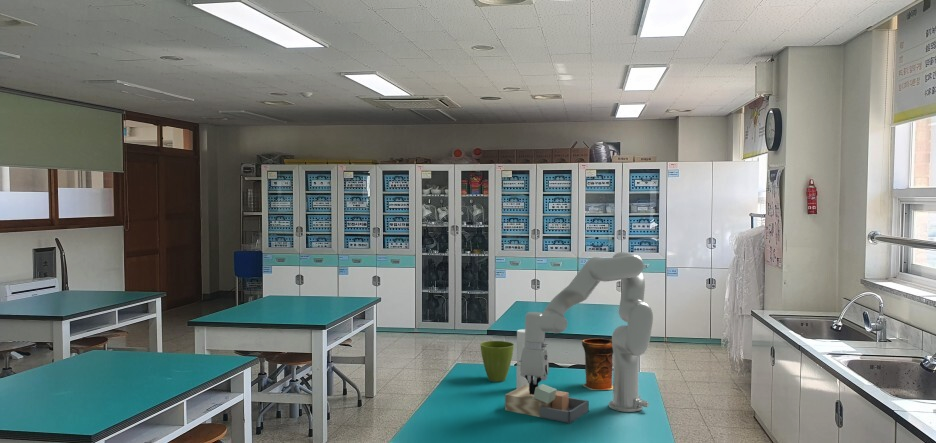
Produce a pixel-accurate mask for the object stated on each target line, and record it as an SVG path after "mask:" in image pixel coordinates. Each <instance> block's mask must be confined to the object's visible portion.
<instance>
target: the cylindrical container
mask: <svg viewBox="0 0 936 443" xmlns="http://www.w3.org/2000/svg"><path fill="white" fill-rule="evenodd" d="M524 347H525V328H524V329H522V328H521V329H518V330H516V389H518V388H520V387H522V386H524V385H528V386H529V383H528V381H527V379H526V378H525V377H522V376H521V371H520V365H521V356H522V351H523V348H524Z"/></svg>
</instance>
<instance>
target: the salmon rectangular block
mask: <svg viewBox="0 0 936 443" xmlns="http://www.w3.org/2000/svg"><path fill="white" fill-rule="evenodd" d="M557 391H558V392H556V395H555V399H554V400H553V401H552V408H553V409H558V410H563V411H565V410H566V409H568V408H569V394H570V393H569V392H566V391H561V390H557Z"/></svg>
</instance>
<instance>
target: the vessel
mask: <svg viewBox="0 0 936 443" xmlns="http://www.w3.org/2000/svg"><path fill="white" fill-rule="evenodd" d="M581 346H582V347H583V350H584V360H585V362H584V363H585V364H584V365H585V366H584V370H585V383H583V384H582V386H583V387H584V388H587V389H588V390H591V391H594V390H595V391H603V390H605V391H607V390H608V391H609V390H613V366H614V362H613V360H614V358H613V347H612V339H608V338H602V337H601V338H599V337H594V338H586V339H583V340H582V341H581Z"/></svg>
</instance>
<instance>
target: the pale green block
mask: <svg viewBox="0 0 936 443" xmlns="http://www.w3.org/2000/svg"><path fill="white" fill-rule="evenodd" d="M556 390H557V388H555V387H551V386H550V385H547V384H544V383H541V384H538V386H537V387H536V388H535V392H534V398H535V399H538V400H540V401H543V402H545V403H549V402H551V401H553V400H554V399H555V395H556ZM557 391H558V390H557Z"/></svg>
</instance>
